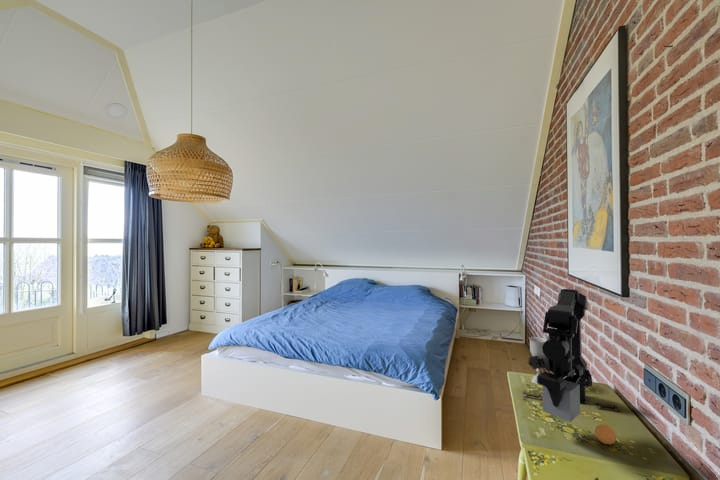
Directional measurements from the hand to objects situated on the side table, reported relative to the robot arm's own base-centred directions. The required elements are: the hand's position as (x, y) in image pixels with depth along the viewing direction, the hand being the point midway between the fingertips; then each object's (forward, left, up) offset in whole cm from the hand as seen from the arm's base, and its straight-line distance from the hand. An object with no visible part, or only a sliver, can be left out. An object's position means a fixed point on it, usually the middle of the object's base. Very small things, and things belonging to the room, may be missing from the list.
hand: (561, 402), depth 95 cm
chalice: (-33, -21, -11) cm, 41 cm away
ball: (-7, +9, -8) cm, 14 cm away
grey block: (0, 0, -3) cm, 3 cm away
